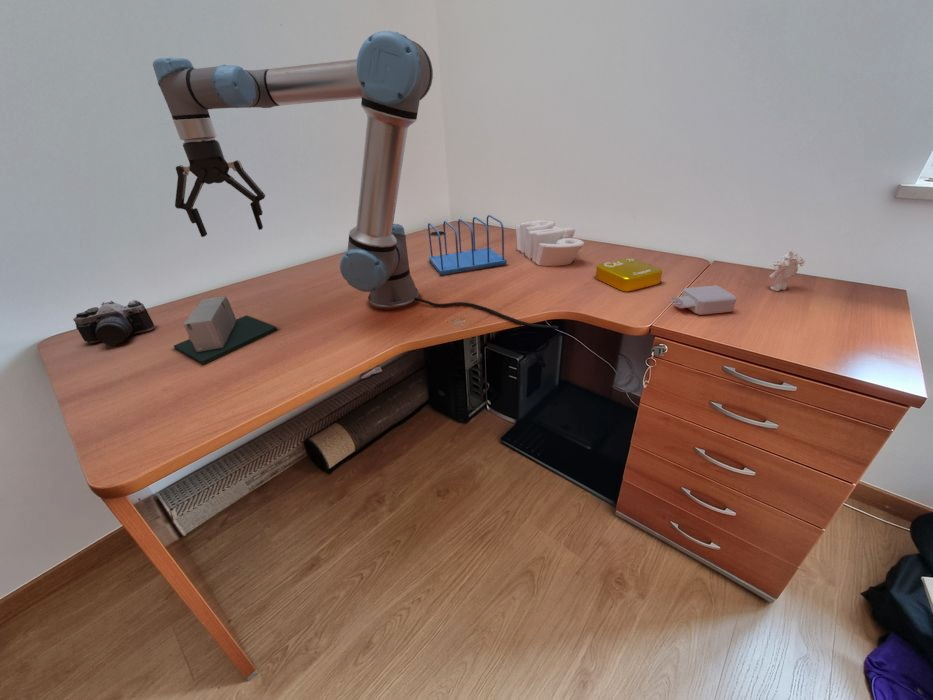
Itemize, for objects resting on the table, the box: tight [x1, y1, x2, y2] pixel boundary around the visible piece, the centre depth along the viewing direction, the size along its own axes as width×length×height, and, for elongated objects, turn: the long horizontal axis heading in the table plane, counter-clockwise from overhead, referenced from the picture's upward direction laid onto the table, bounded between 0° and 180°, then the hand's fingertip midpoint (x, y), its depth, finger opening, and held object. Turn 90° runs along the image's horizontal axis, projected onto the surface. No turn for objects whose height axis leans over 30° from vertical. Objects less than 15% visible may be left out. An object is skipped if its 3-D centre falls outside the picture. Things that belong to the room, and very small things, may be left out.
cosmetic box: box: [183, 295, 237, 352], centre depth 103 cm, size 8×7×16 cm
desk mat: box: [173, 315, 278, 365], centre depth 106 cm, size 15×20×1 cm
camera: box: [72, 299, 155, 346], centre depth 106 cm, size 16×10×10 cm, turn 117°
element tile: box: [595, 257, 663, 293], centre depth 126 cm, size 15×15×5 cm
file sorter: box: [427, 214, 507, 276], centre depth 145 cm, size 25×17×15 cm
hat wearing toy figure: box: [768, 250, 806, 292], centre depth 113 cm, size 9×4×12 cm, turn 104°
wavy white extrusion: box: [515, 219, 585, 267], centre depth 151 cm, size 35×16×10 cm, turn 13°
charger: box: [668, 284, 737, 316], centre depth 107 cm, size 5×9×15 cm
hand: (233, 232), depth 104 cm, fingers open, 13 cm apart
